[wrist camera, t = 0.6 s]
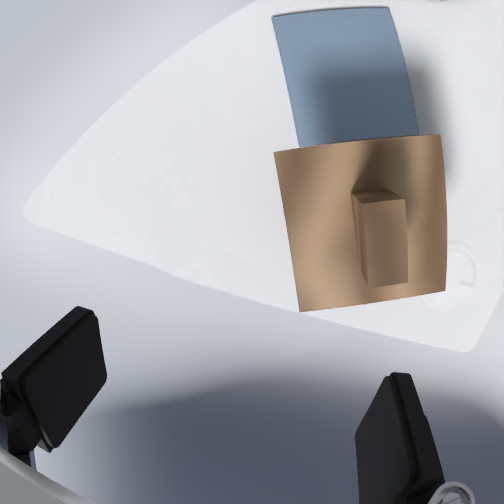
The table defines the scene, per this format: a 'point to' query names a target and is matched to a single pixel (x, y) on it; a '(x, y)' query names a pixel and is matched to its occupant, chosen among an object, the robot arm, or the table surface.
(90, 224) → the table surface
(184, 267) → the table surface
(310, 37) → the slate mat
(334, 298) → the walnut lid
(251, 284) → the table surface
